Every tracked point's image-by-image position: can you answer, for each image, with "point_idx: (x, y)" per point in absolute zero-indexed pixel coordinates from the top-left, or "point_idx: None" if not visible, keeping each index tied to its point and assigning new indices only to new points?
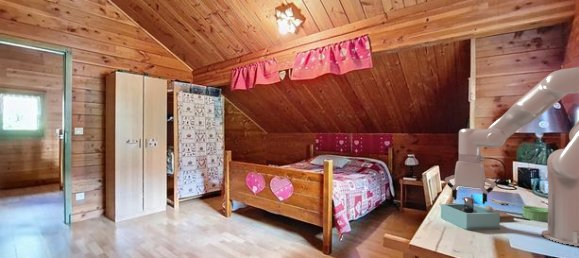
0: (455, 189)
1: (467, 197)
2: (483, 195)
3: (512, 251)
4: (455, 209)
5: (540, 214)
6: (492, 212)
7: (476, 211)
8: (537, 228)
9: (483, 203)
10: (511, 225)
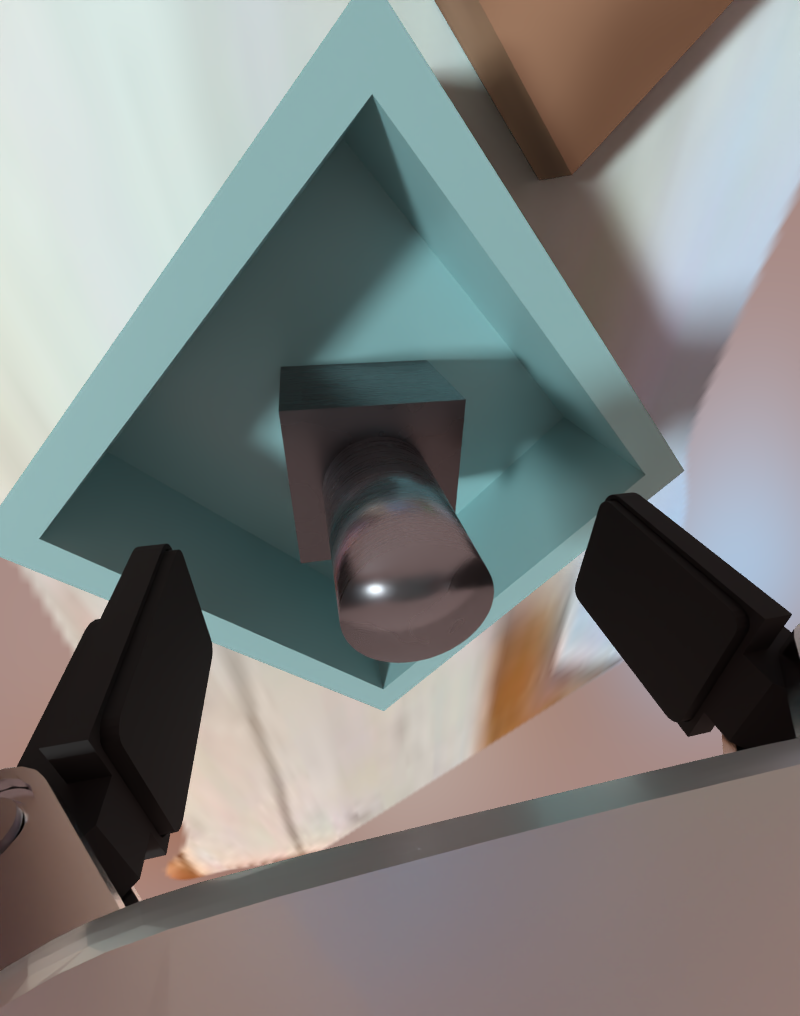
0: (143, 856)
1: (390, 586)
2: (670, 706)
3: (545, 703)
4: (262, 656)
5: None
6: (624, 450)
7: (459, 451)
8: None
9: (586, 596)
10: (741, 161)
